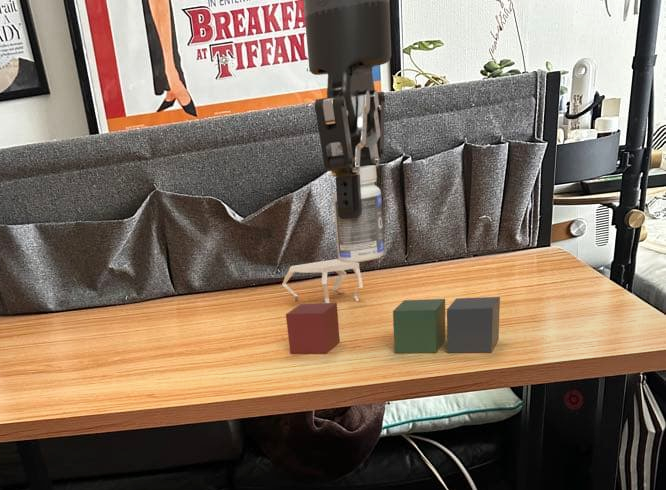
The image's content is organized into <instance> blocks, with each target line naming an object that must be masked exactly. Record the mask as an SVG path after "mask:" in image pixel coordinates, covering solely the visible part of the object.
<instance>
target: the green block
mask: <svg viewBox="0 0 666 490" xmlns="http://www.w3.org/2000/svg"><path fill="white" fill-rule="evenodd" d="M392 319H393V321H392V322H393V323H392V324H393V345H394V346H393V347H394V354H436V353H438V351H439V350H440V348H442V346H443V344H444V343H445V341H446V298H437V299H436V298H433V299H430V298H429V299H405V300H403V301H402V302H401V303H399V305H397V307H395V308H394V309H393V310H392Z"/></svg>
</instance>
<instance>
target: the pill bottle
mask: <svg viewBox="0 0 666 490" xmlns="http://www.w3.org/2000/svg"><path fill="white" fill-rule="evenodd" d="M359 174H360V187H361V205H362V213H361V215H360V216H359V217H357V218H349V219H341V218H340V217H339V216H338V205H337V192H336V193H335V194H334V196H333V208H334V209H333V211H334V223H335V231H336V232H335V233H336V234H335V235H336V245H337V246H336V247H337V259H339V260H340V261H342V262H346V263H353V262H357V263H362V262H367V261H372V260H377V259H379V258H382V257H383V256H384V253H385V243H384V225H383V203H382V192H381V191H382V190H381V189H380V188H379V187H378V185H377V186H375V182H376V181H377V182H378V176H377V175H378V174H377V167H376V166H375V165H370V166H362V167H360V171H359ZM355 175H358V174H355ZM376 178H377V180H376Z"/></svg>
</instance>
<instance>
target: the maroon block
mask: <svg viewBox="0 0 666 490" xmlns="http://www.w3.org/2000/svg"><path fill="white" fill-rule="evenodd" d="M285 318H286V329H287V337H288V345H289V353H290V354H294V355H295V354H296V355H297V354H328V353H329V352H330V351H331V350H332V349H334V348H335V347H336V346H337V345H338V344H339V343H340V342H341V341H340V339H341V338H340V327H339V313H338V303H337V302H329V303H325V302H320V303H300V304H299V305H297V306H296V307H295V308H292V309H291V310H290V311H288V312H287V313H285Z"/></svg>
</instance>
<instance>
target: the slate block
mask: <svg viewBox="0 0 666 490" xmlns="http://www.w3.org/2000/svg"><path fill="white" fill-rule="evenodd" d="M500 306H501V297H500V296H488V297H460V298H459V297H458V298H455V299H454V300H453V302H451V304H450V305H449V306H448V308H446V353H447V354H454V353H455V354H465V353H466V354H467V353H468V354H470V353H471V354H480V353H481V354H483V353H484V354H485V353H486V354H487V353H488V354H489V353H492V352H493V350H494V349H495V347H496V345H497V344H498V342H499V338H500V309H501V307H500Z"/></svg>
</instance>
